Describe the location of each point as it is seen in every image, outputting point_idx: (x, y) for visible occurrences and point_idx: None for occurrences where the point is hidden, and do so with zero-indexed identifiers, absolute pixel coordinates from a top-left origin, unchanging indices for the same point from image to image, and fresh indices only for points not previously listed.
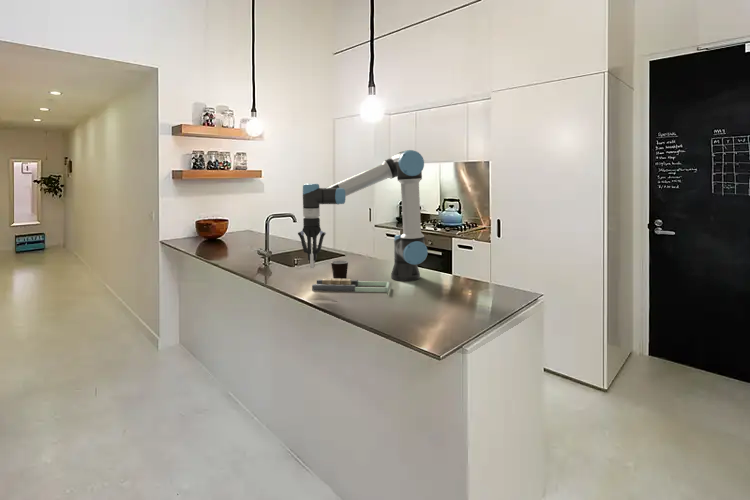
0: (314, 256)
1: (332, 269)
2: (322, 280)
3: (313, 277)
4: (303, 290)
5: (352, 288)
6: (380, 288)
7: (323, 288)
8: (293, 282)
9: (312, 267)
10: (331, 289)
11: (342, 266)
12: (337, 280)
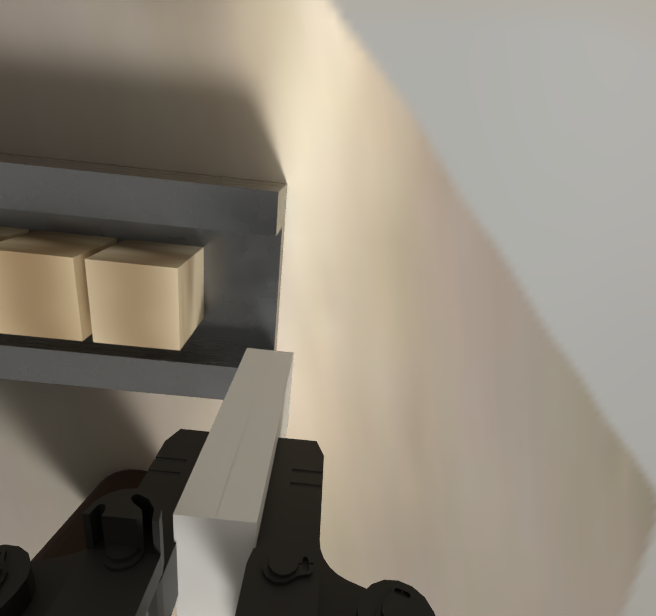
0: (171, 491)
1: None
2: (174, 266)
3: None
4: (376, 269)
5: None
6: None
7: (169, 176)
8: (477, 490)
9: (259, 352)
10: (93, 167)
11: None
12: (6, 251)
